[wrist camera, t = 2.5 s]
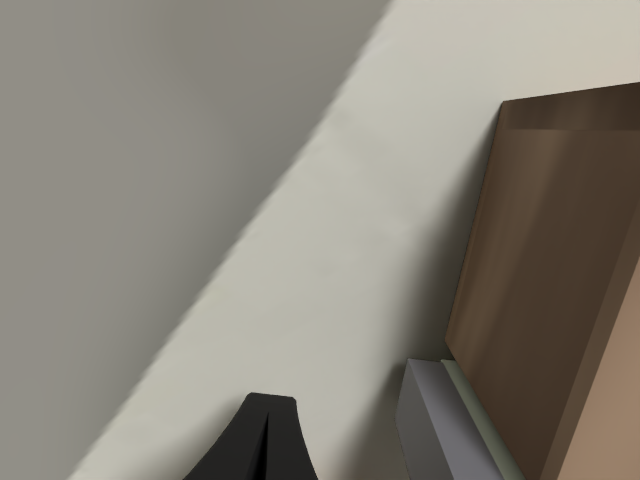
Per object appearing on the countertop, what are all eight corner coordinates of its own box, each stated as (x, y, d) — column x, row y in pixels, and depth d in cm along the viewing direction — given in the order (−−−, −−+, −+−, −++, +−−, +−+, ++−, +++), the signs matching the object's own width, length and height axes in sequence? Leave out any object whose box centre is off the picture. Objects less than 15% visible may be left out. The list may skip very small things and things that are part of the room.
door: (623, 381, 14) (818, 544, 8) (600, 438, 14) (769, 624, 9) (406, 355, 14) (464, 506, 8) (393, 414, 14) (438, 591, 9)
